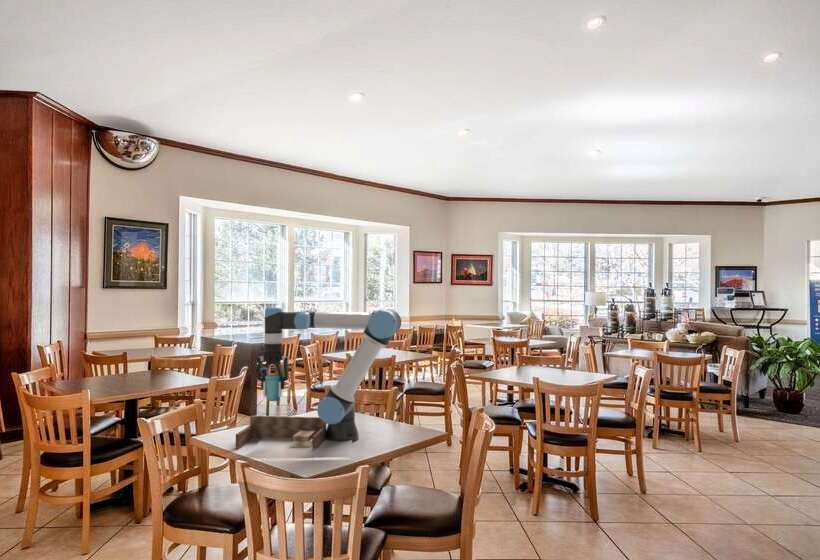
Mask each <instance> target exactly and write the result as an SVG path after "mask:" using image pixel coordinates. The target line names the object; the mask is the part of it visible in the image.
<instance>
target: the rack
mask: <svg viewBox="0 0 820 560" xmlns="http://www.w3.org/2000/svg"><path fill="white" fill-rule="evenodd" d="M326 429H327V423H324V422H323V421H322V420H321V419H320V418H319V416H286V415H285V416H279V415H278V416H276V415H275V416H274V415H250V416H249V425H248V426H246V427H245V428H244V429H242V430H240V431H239V432H237V433H236V434H235V450H240V449H241V448H243V447H244V446H246V443H247V444H248V443H250V442H251V441H252V440H262V439H263V438H291V439H293V436H294V435H295V434H296V433H298V432H299V431H301V430H308V431H316V434H315V435H314V436H313V446H312V449H315V450H316V449H317V448H319V446H320V445H321V444H322V442H323V441H324V440H326V438H325V436H326ZM249 441H250V442H249ZM239 448H240V449H239Z"/></svg>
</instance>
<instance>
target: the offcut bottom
mask: <svg viewBox="0 0 820 560" xmlns="http://www.w3.org/2000/svg"><path fill="white" fill-rule="evenodd" d="M289 447H291V448H313V445H312V446H293V443H292V444H291V445H290V446H289Z"/></svg>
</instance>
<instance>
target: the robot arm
mask: <svg viewBox="0 0 820 560" xmlns="http://www.w3.org/2000/svg"><path fill="white" fill-rule="evenodd" d="M263 319H264V333H263V334H264V336H263V338H264V339H263V341H264V350H263V351H264V352H263V354H262V356H261V355H260V356H258V357H257V358H256V359H257V371H256V372H257V373H256V380H257V381H260V383H261V384H260V386H261V387H260V388H261V390H263V393H262V396H263V398H265V397H266V398H267V393H266V381H265V376H267V372H266V369H264V370H261V371H260V369H261V368H263V364H264V360H265V365H264V367H267V368H268V371H269V370H270V367H271V365H275V367H276V369H277V371H278V374H279V377H280V382H279V397H280V398H281V397H283V390H284V389H285V383H286V382H285V381H287V380H289V379H290V373H289V372H290V371H289V360H290V357H289V356H284V354H283V344H282V342H283V330H295V331H297V330H299V331H302V330H308V329H337V330H341V329H342V330H362V331H363V339H362V340H361V342H360V344H359V345H358V347H357V349H356V351H355V352H354V354H353V355H352V357H351V359H350V361H349V363H348V364H347V366H346V367H345V368H344V371H343V372H342V373H341V375H340V376H339V377H340V378H339V379H338V381H337V382H336V384H334V385H333V384H332V385H331V386H330V387H329V389H328V391H327V392H326V394H325V395H324V397H323V398H322V399H321V400H320V401H319V403H318V405H317V409H316V411H317V415H318V416H317V417H319V418H320V419H321V420H322V421H323V422H324V423H326V436H325V440H328V441H333V442H334V441H335V442H345V441H351V442H355V441H357V440H359V432H358V431H359V430H358V428H357V425H356V418H355V417H356V416H355V415H356V406H355V405H356V404H355V403H356V391H357V390H358V388H359V387H360V385H361V383H362V381H363V380H364V378H365V376H366V375H367V373H368V371H369V370H370V368H371V366H372V365H373V363H374V361H375V360H376V358H377V356H378V355H379V353H380V352H381V349H382V348H384V347H387V346H388V345H389V343H390V341H391V340H392V338H393V336H395V334H396V333H398V331H400V329H401V326H402V318H401V316H400V314H399V313H398V312H397V311H395V310H394V309H390V308H385V309H384V308H383V309H378V310H371V311H369V312H349V311H347V312H345V311H344V312H343V311H312V310H311V311H310V310H304V311H291V312H290V311H283V308H282V307H266V308H265V310H264V318H263ZM281 361H283V368H284V375H283V371H282V368H281V367H282V364H281Z"/></svg>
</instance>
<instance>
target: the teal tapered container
mask: <svg viewBox="0 0 820 560" xmlns="http://www.w3.org/2000/svg"><path fill="white" fill-rule="evenodd" d="M281 368H282V371H283V375H284V366H281ZM264 369H266V372H267V376H265V381H266V393H267V396H266V400H267V402H278V401H280V400H281V397H279V382H280V377H279V374H278V371H277V368H276V370H275V372H274V374H270V372H269V370H268V368H267V367H265V366H264V367H262V368H261V369H260V371H261V370H262V371H264Z"/></svg>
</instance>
